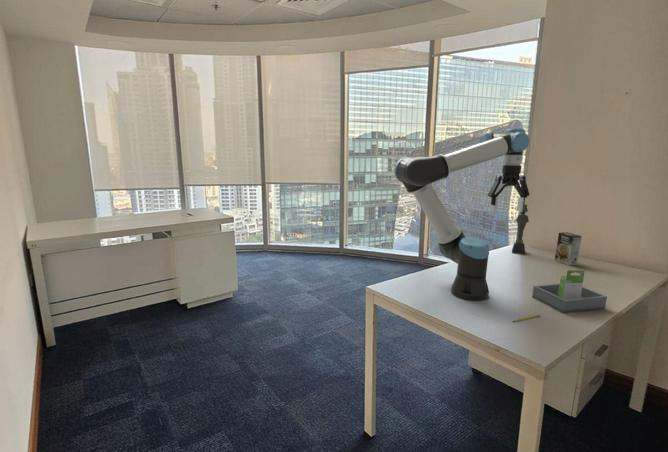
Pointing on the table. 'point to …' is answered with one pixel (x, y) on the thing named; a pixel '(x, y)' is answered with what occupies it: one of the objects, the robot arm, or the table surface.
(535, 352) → the table surface
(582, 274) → the ink box
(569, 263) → the coffee box
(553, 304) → the box
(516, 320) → the pencil
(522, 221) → the statue
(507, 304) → the table surface
